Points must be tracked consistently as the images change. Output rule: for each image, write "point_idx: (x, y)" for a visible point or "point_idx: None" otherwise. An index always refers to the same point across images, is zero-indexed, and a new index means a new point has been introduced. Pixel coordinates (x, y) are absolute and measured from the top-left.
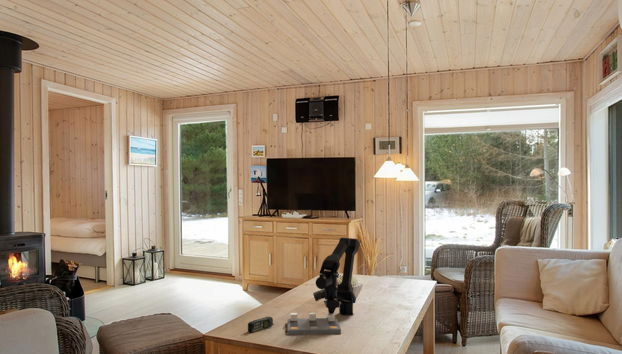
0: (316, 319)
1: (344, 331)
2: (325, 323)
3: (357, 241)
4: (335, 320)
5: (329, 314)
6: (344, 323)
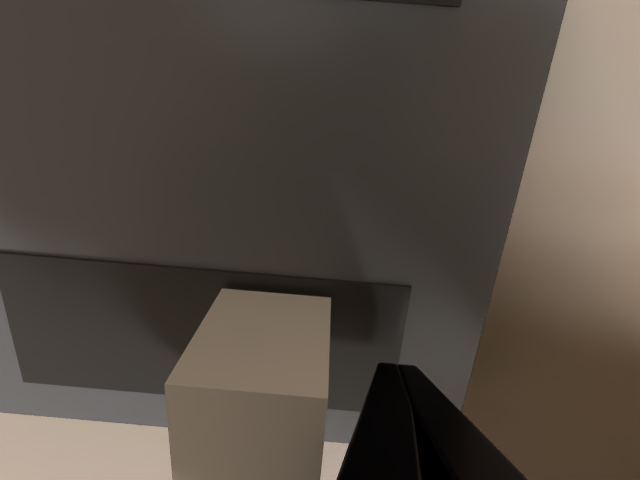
0: (454, 24)
1: None
2: (137, 204)
3: None
4: None
5: (230, 418)
6: None
